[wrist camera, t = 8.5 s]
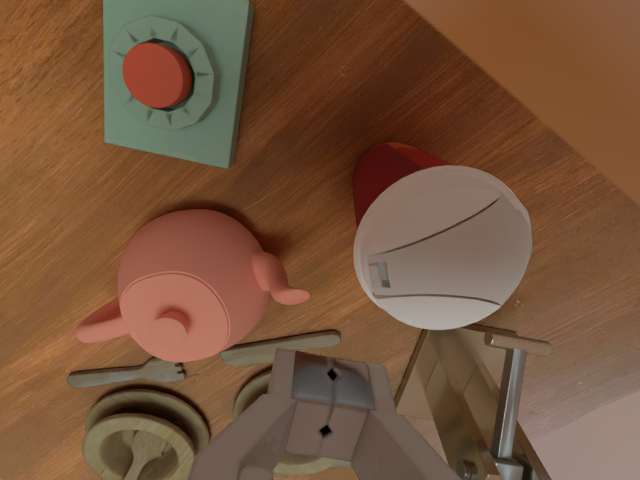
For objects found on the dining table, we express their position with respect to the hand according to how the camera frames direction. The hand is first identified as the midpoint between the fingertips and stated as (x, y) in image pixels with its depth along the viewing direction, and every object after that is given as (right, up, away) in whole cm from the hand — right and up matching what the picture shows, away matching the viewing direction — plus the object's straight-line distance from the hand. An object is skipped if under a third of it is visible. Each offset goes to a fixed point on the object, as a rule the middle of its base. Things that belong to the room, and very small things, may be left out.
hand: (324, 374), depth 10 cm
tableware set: (-11, -16, +31) cm, 37 cm away
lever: (+14, -10, +20) cm, 26 cm away
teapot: (-9, +1, +23) cm, 25 cm away
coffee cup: (+6, +9, +20) cm, 23 cm away
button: (-10, +14, +14) cm, 22 cm away
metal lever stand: (+13, -10, +28) cm, 33 cm away
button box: (-10, +16, +17) cm, 25 cm away
